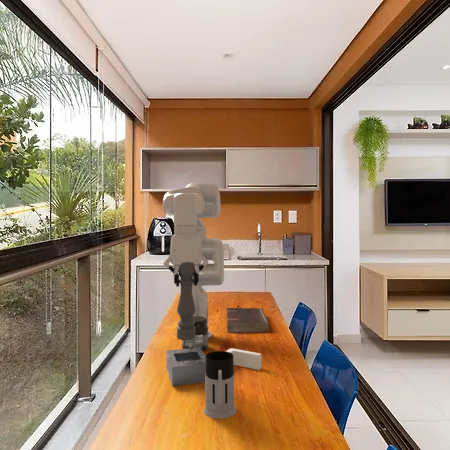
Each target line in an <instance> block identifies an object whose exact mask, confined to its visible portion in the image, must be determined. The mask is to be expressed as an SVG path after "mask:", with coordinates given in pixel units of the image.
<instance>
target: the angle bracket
mask: <svg viewBox="0 0 450 450" xmlns="http://www.w3.org/2000/svg"><path fill="white" fill-rule="evenodd" d="M225 351H226V352H230V353H232V354H233V366H237V367H242V368H247V369H248V368H249V369H252V370H258V371H260V370H261V369H262V353H259V352H254V351H248V350H245V349H244V350H243V349H239V348H228V349H227V350H225Z"/></svg>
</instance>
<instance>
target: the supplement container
mask: <svg viewBox="0 0 450 450" xmlns="http://www.w3.org/2000/svg"><path fill="white" fill-rule="evenodd" d="M192 319H193V321H194V322H195V325H194V326H195V338H194V339H192V340H181V349H189V348H200V347H201V349H202V351H203V352H205V351H206V350H208V348H209V338H208V331H209V325H208V326H207V325H206V324H207V318H205V317H201V316H193V318H192Z"/></svg>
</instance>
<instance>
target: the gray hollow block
mask: <svg viewBox="0 0 450 450" xmlns="http://www.w3.org/2000/svg"><path fill="white" fill-rule="evenodd" d="M204 352H205V351H202V349H201V347H200V348H189V349H182V348H180V349H178V348H177V349H170V350H166V370H167V373H168V377H169V380H170V384H171V386H172V387H177V386H185V385H187V386H188V385H193V384H194V385H195V384H205V371H206V357H205V356H206V354H205V353H204Z"/></svg>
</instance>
